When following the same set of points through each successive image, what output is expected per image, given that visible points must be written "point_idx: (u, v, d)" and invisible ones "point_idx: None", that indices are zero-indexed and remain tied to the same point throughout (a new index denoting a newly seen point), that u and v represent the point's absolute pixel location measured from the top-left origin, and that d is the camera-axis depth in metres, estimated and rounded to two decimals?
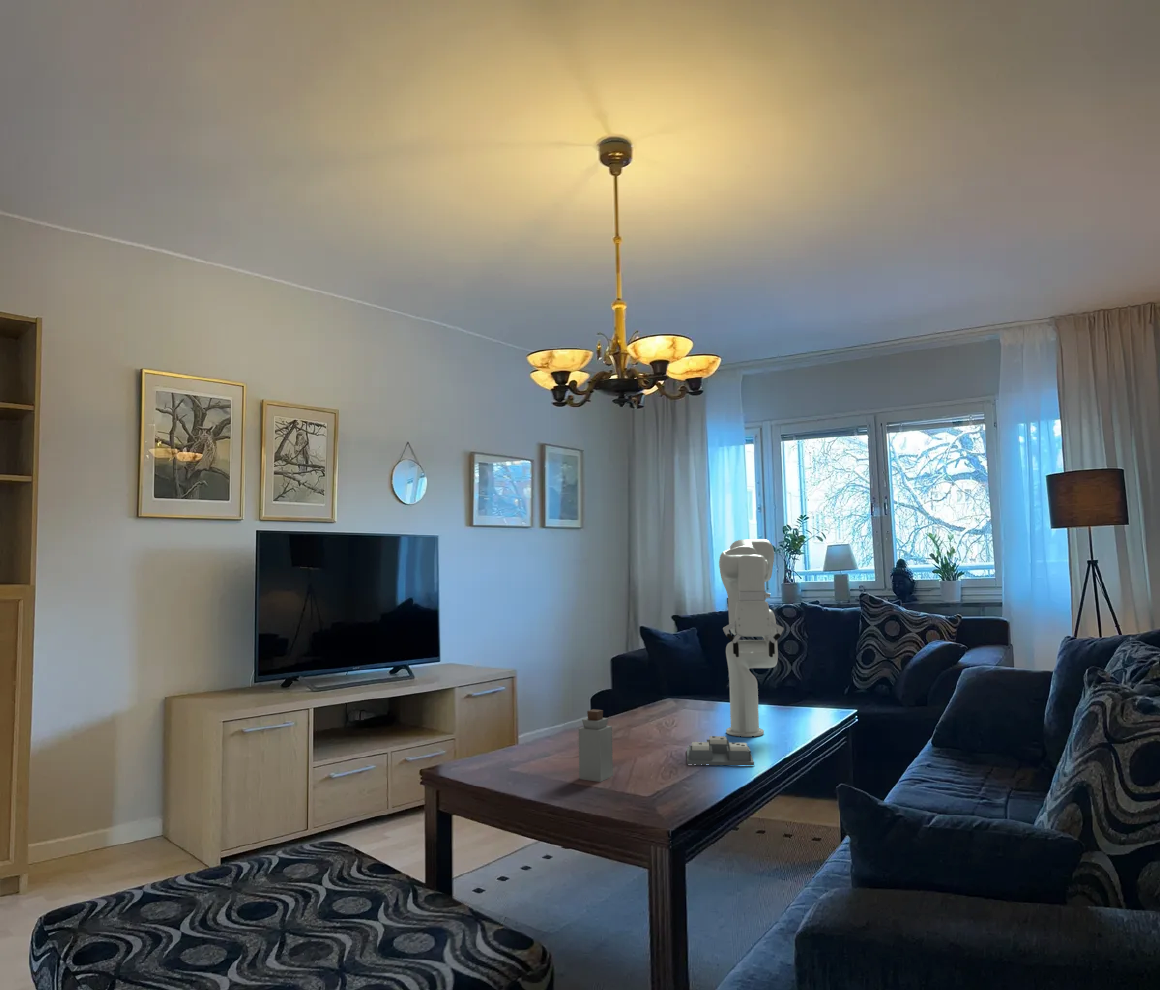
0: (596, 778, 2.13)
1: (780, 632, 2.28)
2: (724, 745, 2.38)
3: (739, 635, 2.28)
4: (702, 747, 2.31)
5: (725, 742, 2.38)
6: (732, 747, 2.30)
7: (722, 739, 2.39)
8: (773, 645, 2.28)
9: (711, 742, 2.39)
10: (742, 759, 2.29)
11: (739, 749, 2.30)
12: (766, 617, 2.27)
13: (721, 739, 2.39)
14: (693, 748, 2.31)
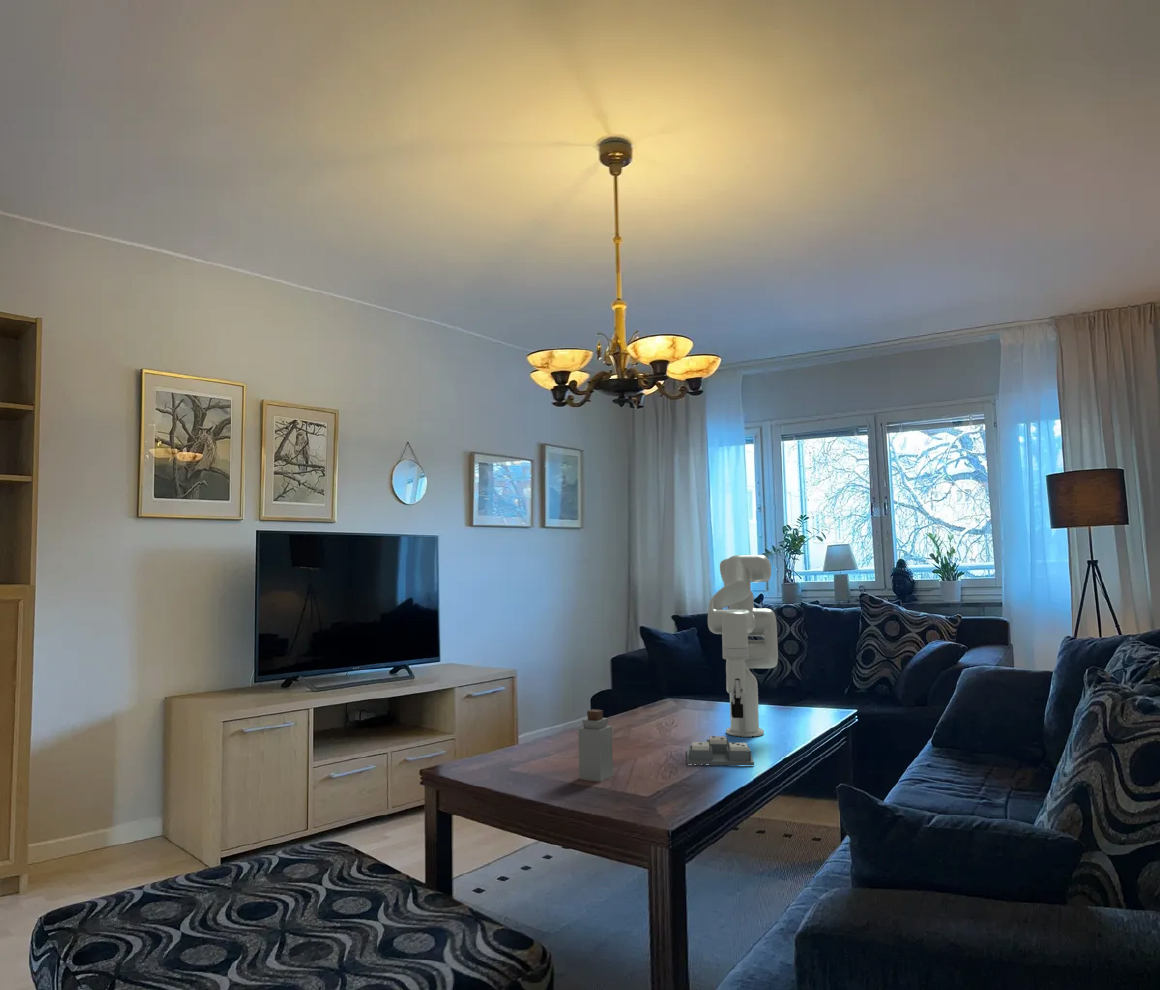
0: (596, 778, 2.13)
1: None
2: (724, 745, 2.38)
3: (743, 693, 2.29)
4: (702, 747, 2.31)
5: (725, 742, 2.38)
6: (732, 747, 2.30)
7: (722, 739, 2.39)
8: None
9: (711, 742, 2.39)
10: (742, 759, 2.29)
11: (739, 749, 2.30)
12: None
13: (721, 739, 2.39)
14: (693, 748, 2.31)
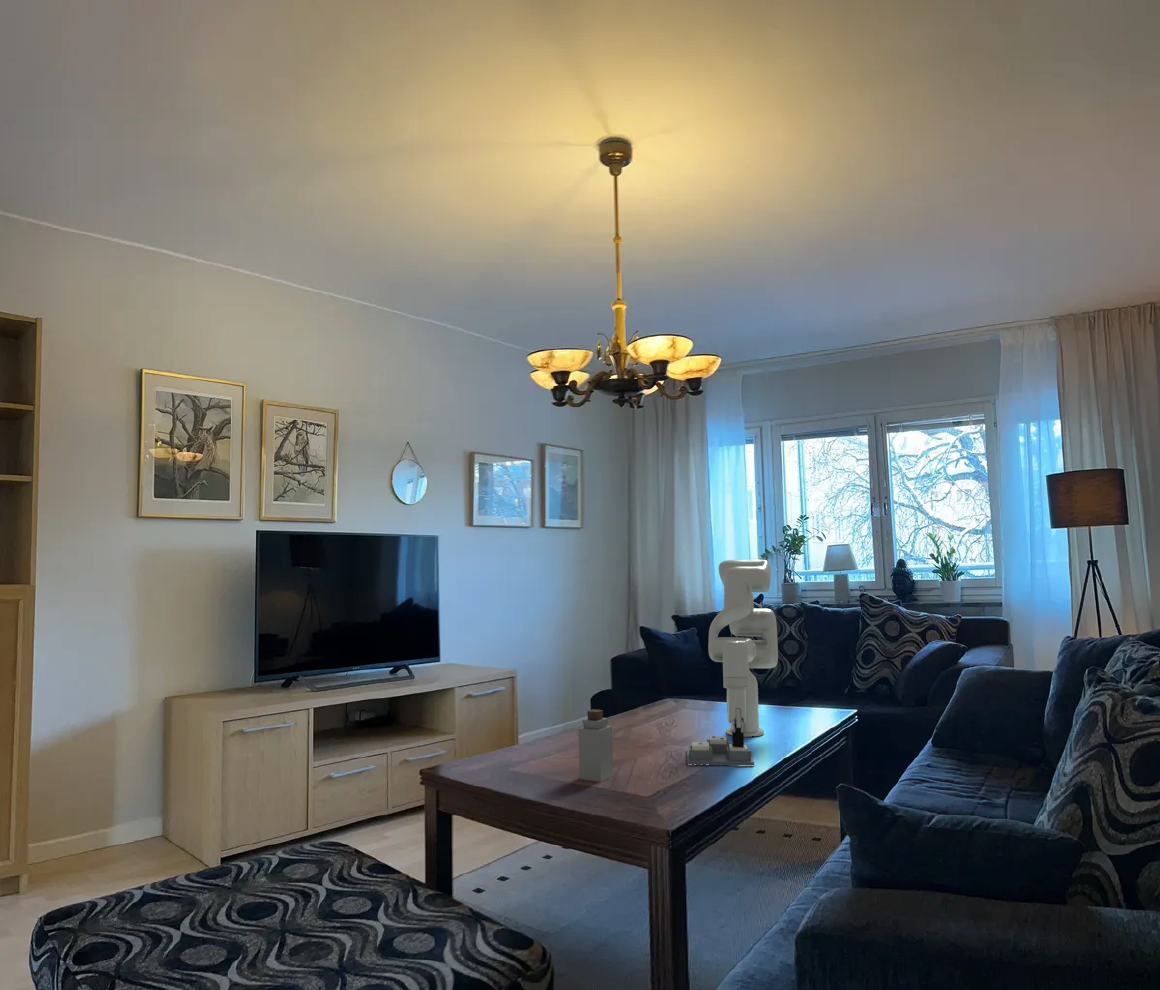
0: (596, 778, 2.13)
1: None
2: (724, 745, 2.38)
3: (744, 722, 2.28)
4: (702, 747, 2.31)
5: (725, 742, 2.38)
6: (732, 749, 2.30)
7: (722, 739, 2.39)
8: None
9: (711, 742, 2.39)
10: (742, 759, 2.29)
11: (739, 750, 2.30)
12: None
13: (721, 739, 2.39)
14: (693, 748, 2.31)
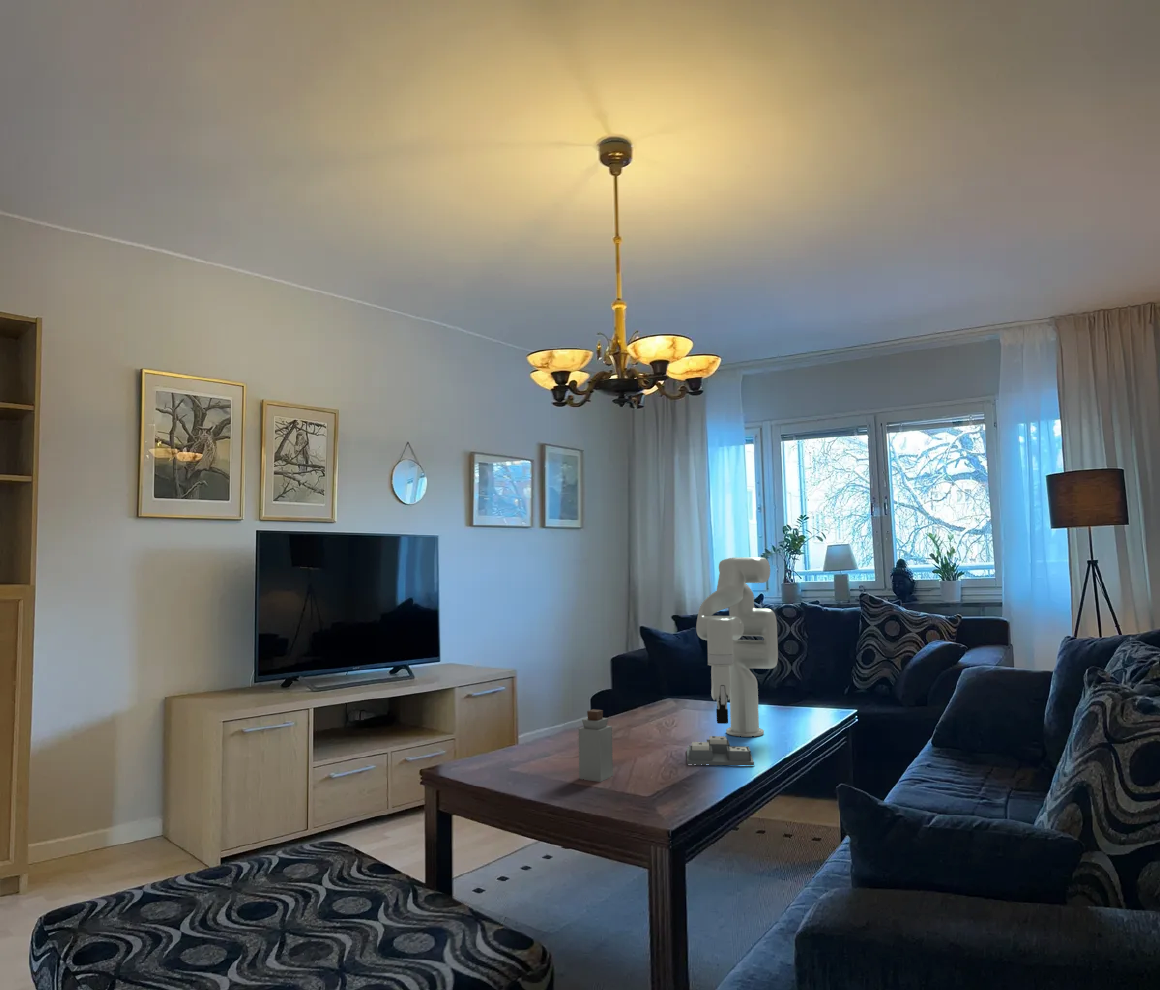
0: (596, 778, 2.13)
1: None
2: (724, 745, 2.38)
3: (728, 699, 2.30)
4: (702, 747, 2.31)
5: (725, 742, 2.38)
6: None
7: (722, 739, 2.39)
8: None
9: (711, 742, 2.39)
10: (742, 759, 2.29)
11: None
12: None
13: (721, 739, 2.39)
14: (693, 748, 2.31)
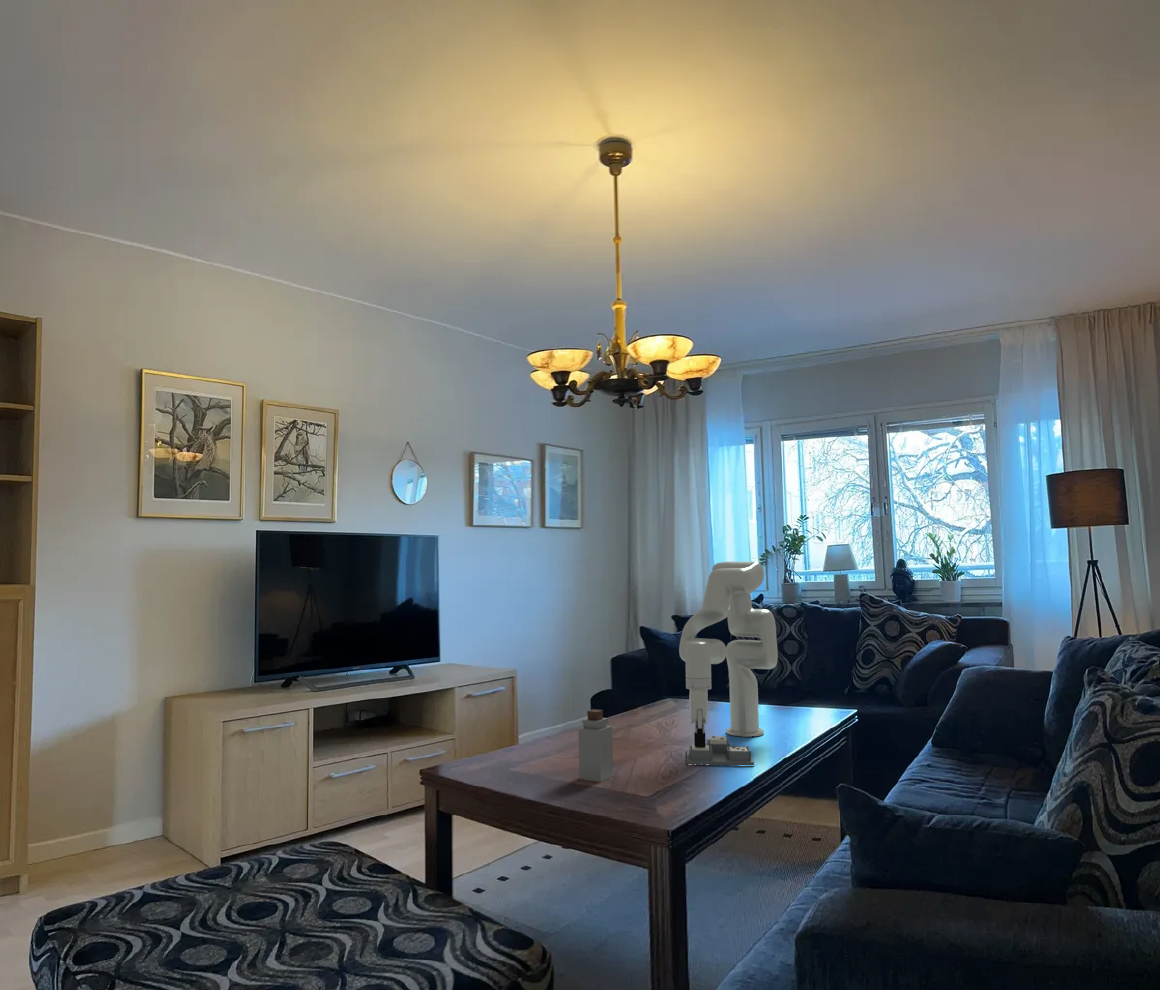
0: (596, 778, 2.13)
1: None
2: (724, 745, 2.38)
3: (705, 723, 2.30)
4: None
5: (725, 742, 2.38)
6: None
7: (722, 739, 2.39)
8: None
9: (711, 742, 2.39)
10: (742, 759, 2.29)
11: None
12: None
13: (721, 739, 2.39)
14: None
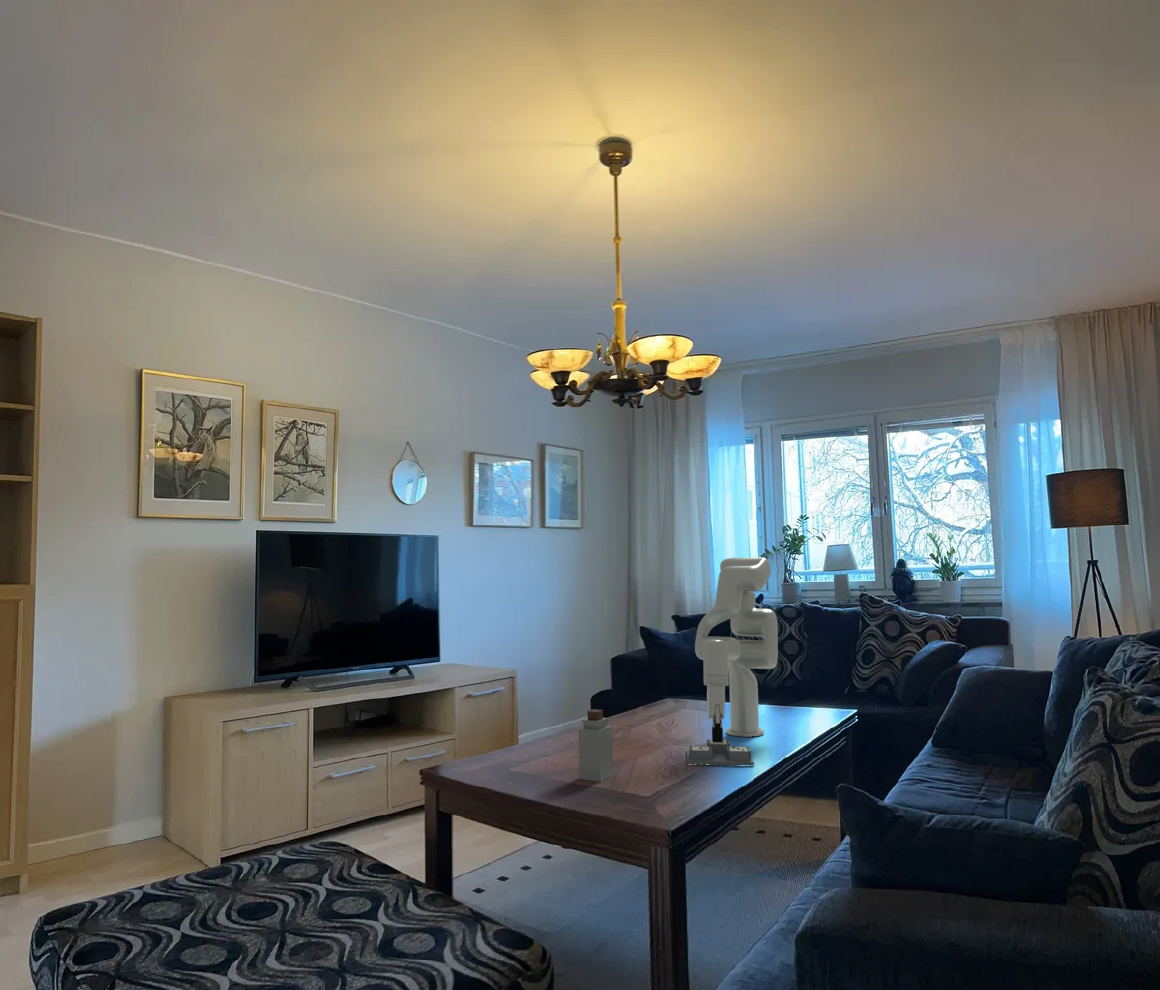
0: (596, 778, 2.13)
1: None
2: (724, 745, 2.38)
3: (723, 718, 2.37)
4: None
5: None
6: None
7: (722, 742, 2.39)
8: None
9: None
10: (742, 759, 2.29)
11: None
12: None
13: (721, 742, 2.39)
14: None
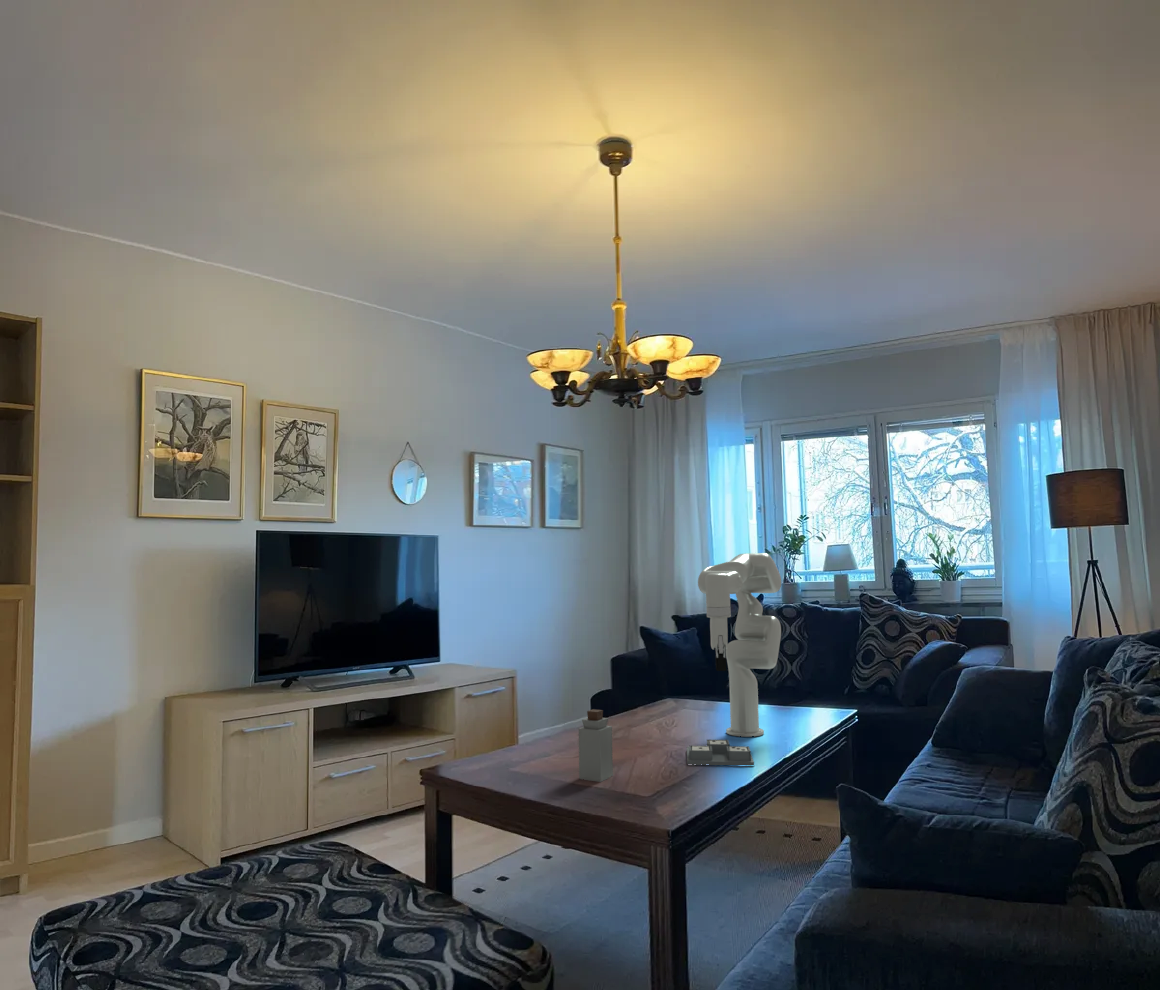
0: (596, 778, 2.13)
1: None
2: (724, 745, 2.38)
3: (726, 648, 2.46)
4: None
5: None
6: None
7: (722, 743, 2.39)
8: None
9: None
10: (742, 759, 2.29)
11: None
12: None
13: (721, 743, 2.39)
14: None
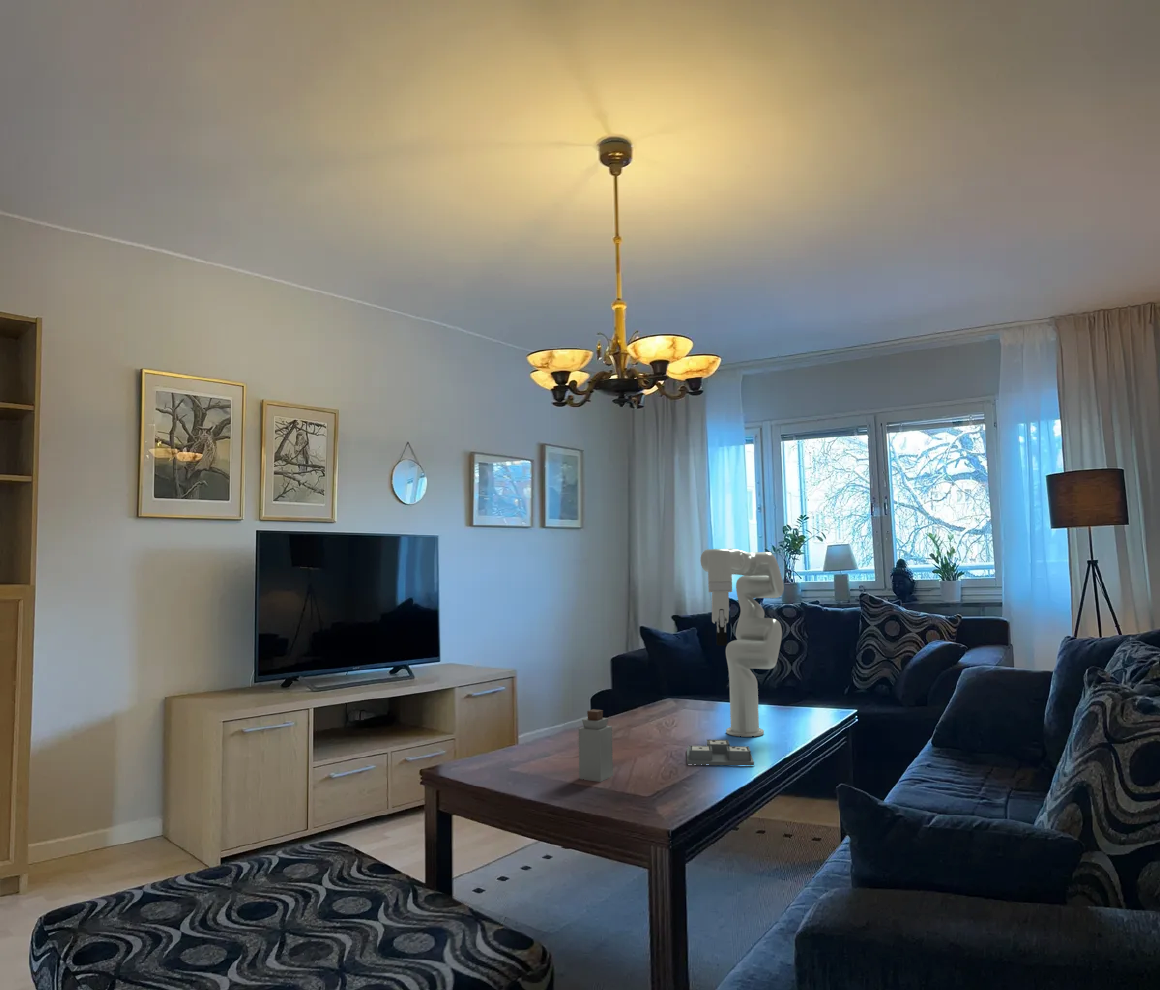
0: (596, 778, 2.13)
1: None
2: (724, 745, 2.38)
3: (727, 622, 2.49)
4: None
5: None
6: None
7: (722, 743, 2.39)
8: None
9: None
10: (742, 759, 2.29)
11: None
12: None
13: (721, 743, 2.39)
14: None
